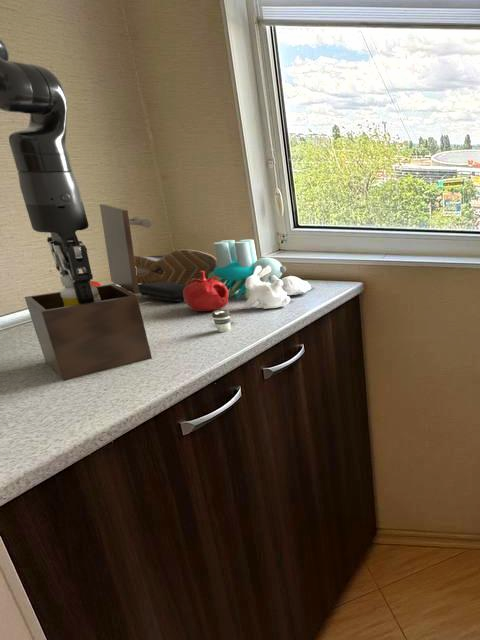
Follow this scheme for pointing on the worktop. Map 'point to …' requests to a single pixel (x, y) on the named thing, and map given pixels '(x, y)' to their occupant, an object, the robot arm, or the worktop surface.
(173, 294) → the carrying case
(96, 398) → the worktop surface
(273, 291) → the rabbit figurine
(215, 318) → the grey ridged cylinder
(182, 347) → the worktop surface
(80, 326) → the chest
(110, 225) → the lid
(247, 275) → the toy
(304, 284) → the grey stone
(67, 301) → the supplement bottle
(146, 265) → the athletic shoe
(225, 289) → the pomegranate
